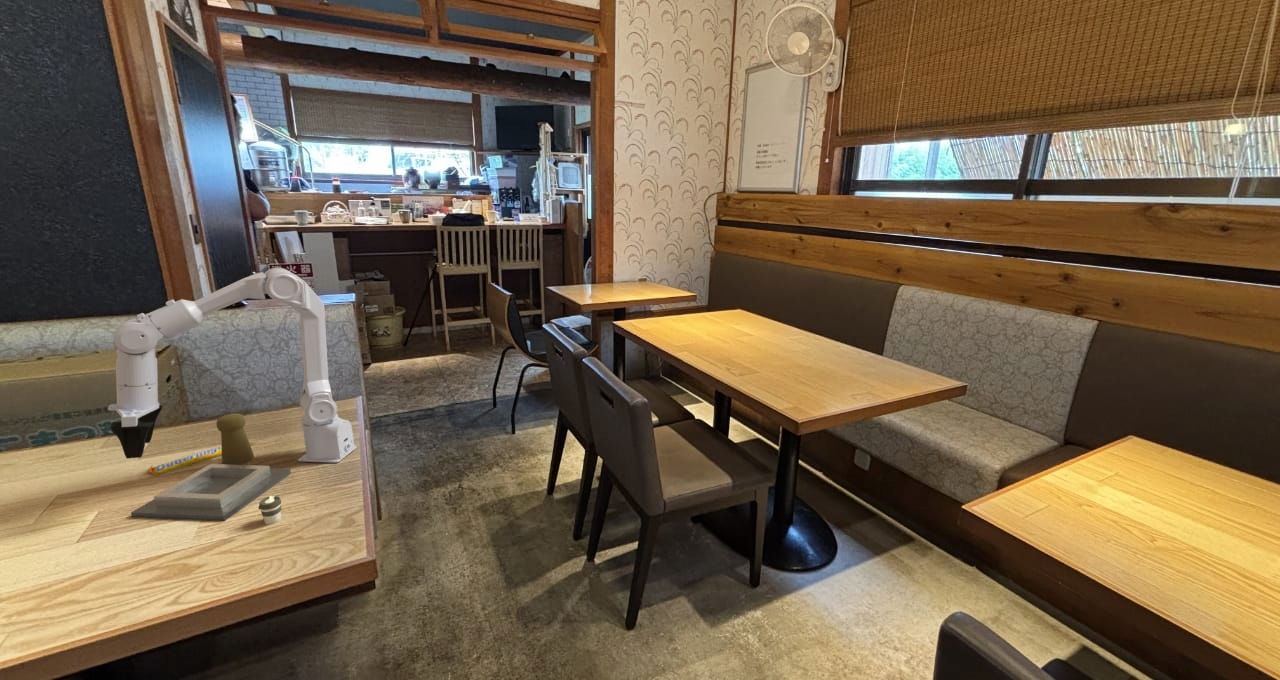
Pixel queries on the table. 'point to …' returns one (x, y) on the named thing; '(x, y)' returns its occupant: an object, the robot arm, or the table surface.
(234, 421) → the brown rounded piece
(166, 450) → the table surface
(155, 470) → the candy bar
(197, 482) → the socket board
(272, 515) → the coffee cup
